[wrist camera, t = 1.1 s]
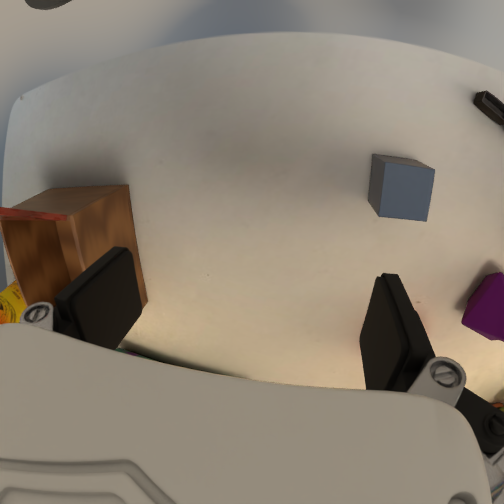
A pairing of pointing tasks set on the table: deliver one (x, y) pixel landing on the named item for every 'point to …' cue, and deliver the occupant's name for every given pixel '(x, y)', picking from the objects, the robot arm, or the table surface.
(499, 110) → the lighter
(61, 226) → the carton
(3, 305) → the beer can
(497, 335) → the perfume bottle
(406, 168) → the block
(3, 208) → the flap
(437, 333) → the table surface
